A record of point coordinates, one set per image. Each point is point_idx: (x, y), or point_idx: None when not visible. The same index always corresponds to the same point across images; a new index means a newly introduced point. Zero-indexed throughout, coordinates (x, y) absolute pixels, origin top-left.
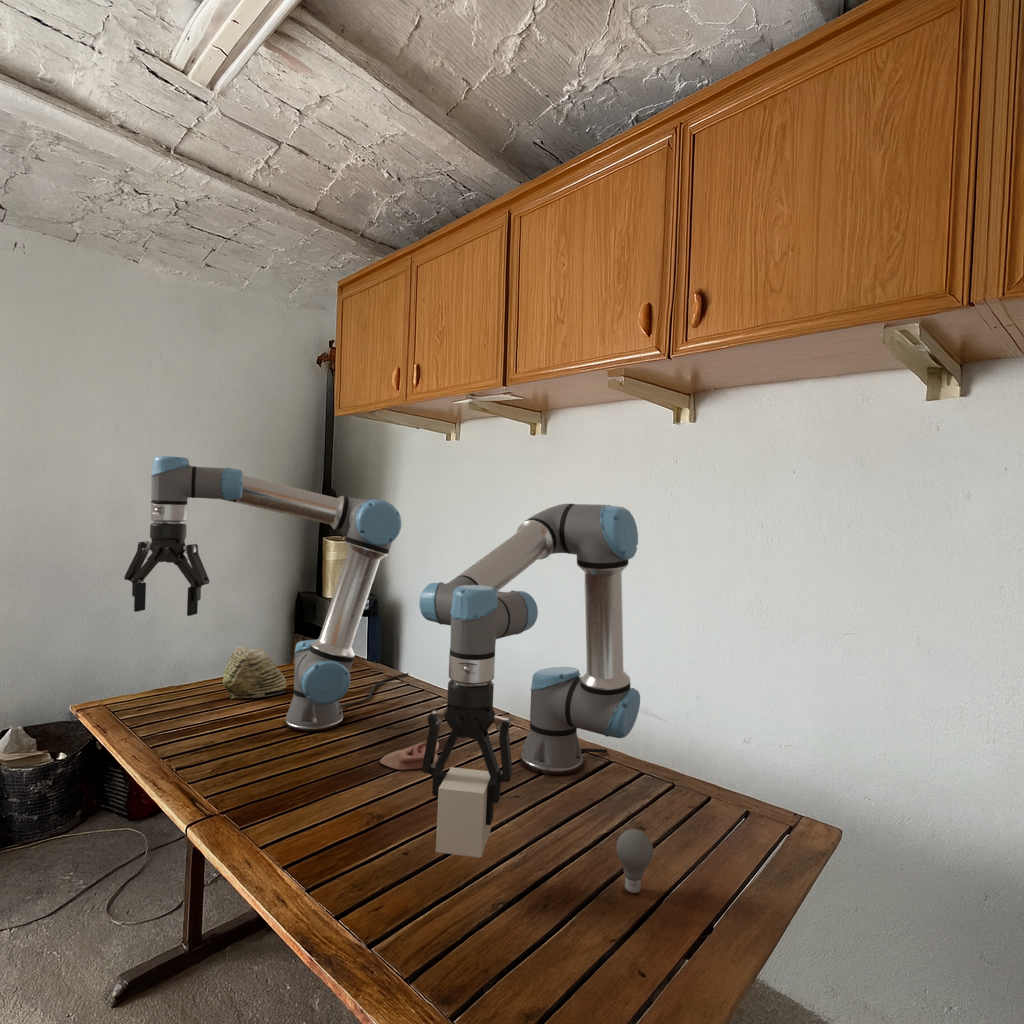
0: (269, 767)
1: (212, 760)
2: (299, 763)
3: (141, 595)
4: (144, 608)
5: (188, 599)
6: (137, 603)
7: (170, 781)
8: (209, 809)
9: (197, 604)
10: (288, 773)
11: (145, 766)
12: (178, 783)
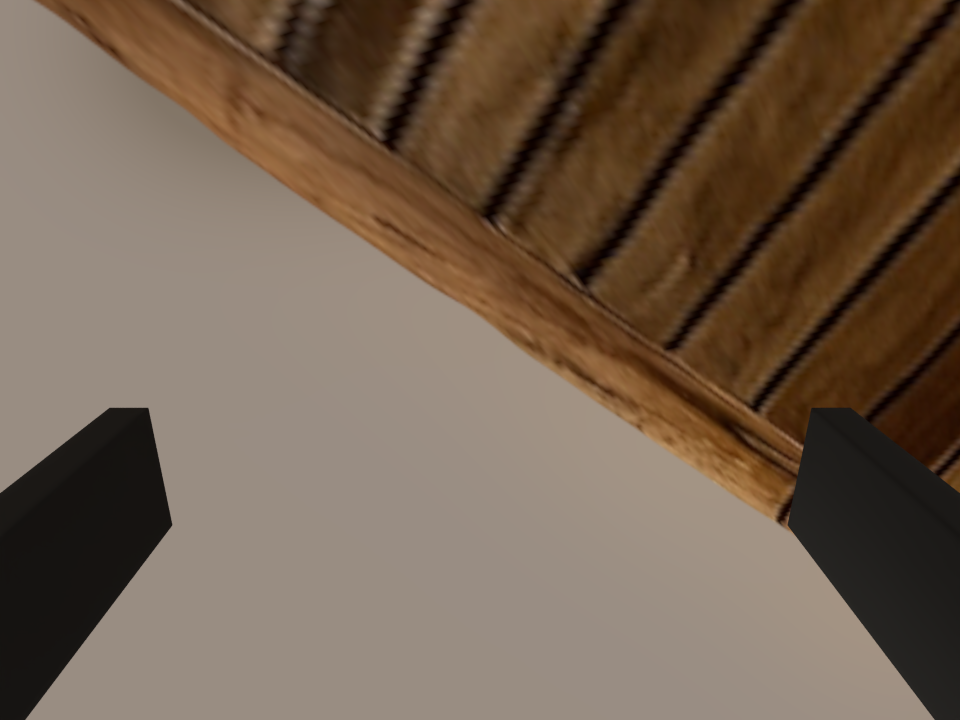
0: (860, 195)
1: (652, 191)
2: (953, 139)
3: (46, 597)
4: (141, 426)
5: (914, 669)
6: (120, 580)
7: (611, 351)
8: (791, 455)
9: (925, 471)
10: (934, 222)
11: (477, 283)
12: (640, 356)
